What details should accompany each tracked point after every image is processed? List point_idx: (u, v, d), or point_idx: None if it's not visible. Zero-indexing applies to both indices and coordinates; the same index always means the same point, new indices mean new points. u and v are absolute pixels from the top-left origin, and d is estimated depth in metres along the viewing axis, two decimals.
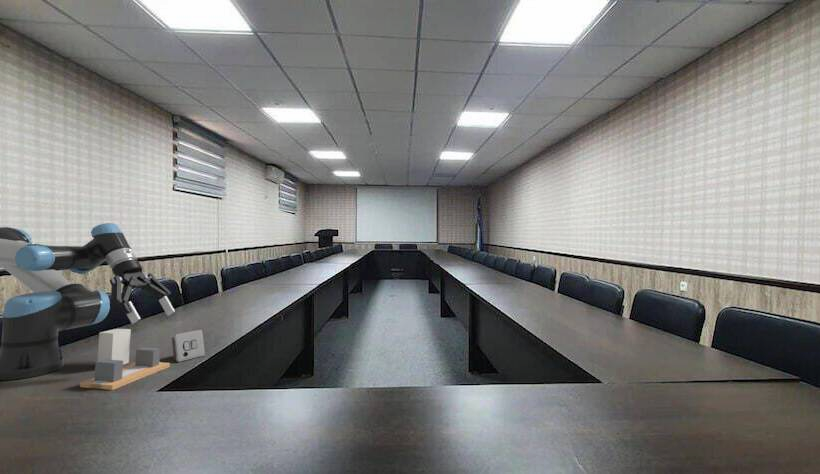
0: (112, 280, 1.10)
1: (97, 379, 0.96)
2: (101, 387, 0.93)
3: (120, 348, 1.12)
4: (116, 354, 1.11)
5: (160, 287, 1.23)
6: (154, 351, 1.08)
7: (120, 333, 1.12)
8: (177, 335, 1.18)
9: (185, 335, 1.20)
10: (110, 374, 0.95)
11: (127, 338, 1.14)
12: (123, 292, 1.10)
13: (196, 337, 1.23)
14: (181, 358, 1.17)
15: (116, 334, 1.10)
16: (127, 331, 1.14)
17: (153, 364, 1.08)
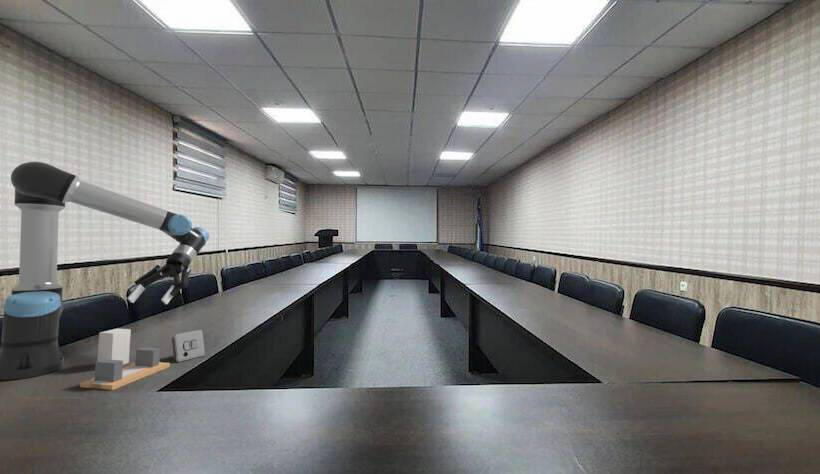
0: (188, 269, 1.34)
1: (97, 379, 0.96)
2: (101, 387, 0.93)
3: (120, 348, 1.12)
4: (116, 354, 1.11)
5: None
6: (154, 351, 1.08)
7: (120, 333, 1.12)
8: (177, 335, 1.18)
9: (185, 335, 1.20)
10: (110, 374, 0.95)
11: (127, 338, 1.14)
12: (178, 278, 1.31)
13: (196, 337, 1.23)
14: (181, 358, 1.17)
15: (116, 334, 1.10)
16: (127, 331, 1.14)
17: (153, 364, 1.08)
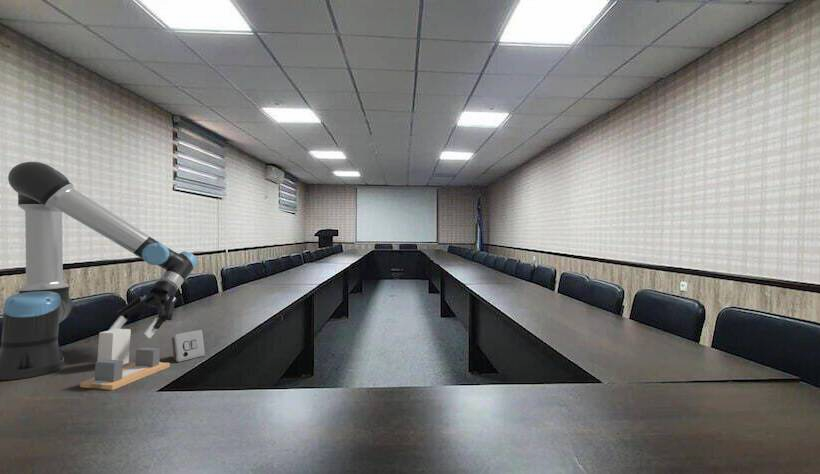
0: (174, 298, 1.26)
1: (97, 379, 0.96)
2: (101, 387, 0.93)
3: (120, 348, 1.12)
4: (116, 354, 1.11)
5: None
6: (154, 351, 1.08)
7: (120, 333, 1.12)
8: (177, 335, 1.18)
9: (185, 335, 1.20)
10: (110, 374, 0.95)
11: (127, 338, 1.14)
12: (162, 309, 1.23)
13: (196, 337, 1.23)
14: (181, 358, 1.17)
15: (116, 334, 1.10)
16: (127, 331, 1.14)
17: (153, 364, 1.08)
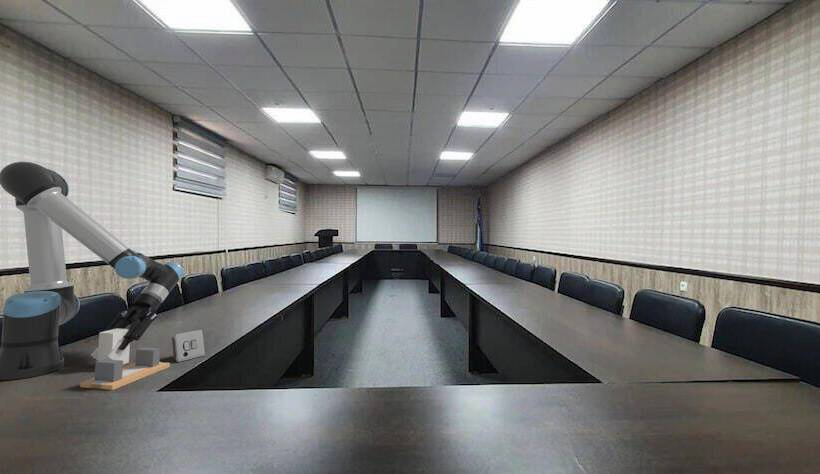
0: (153, 316, 1.19)
1: (97, 379, 0.96)
2: (101, 387, 0.93)
3: None
4: None
5: None
6: (154, 351, 1.08)
7: (120, 333, 1.12)
8: (177, 335, 1.18)
9: (185, 335, 1.20)
10: (110, 374, 0.95)
11: None
12: (136, 327, 1.16)
13: (196, 337, 1.23)
14: (181, 358, 1.17)
15: (116, 334, 1.10)
16: (127, 331, 1.14)
17: (153, 364, 1.08)
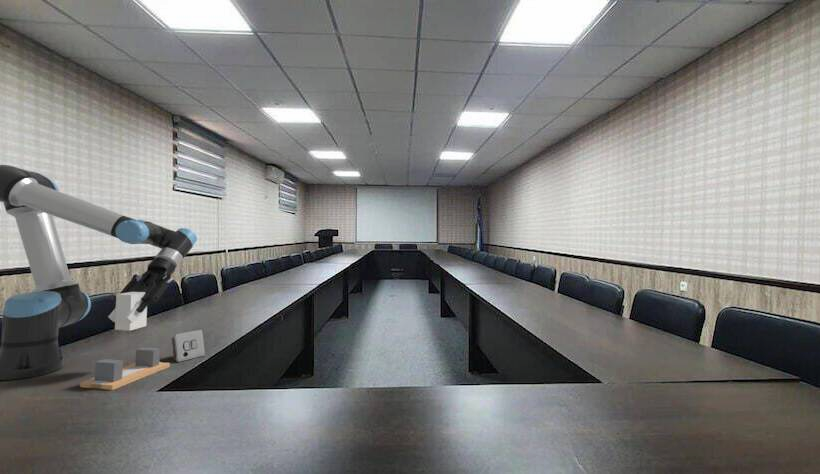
0: (169, 279, 1.16)
1: (97, 379, 0.96)
2: (101, 387, 0.93)
3: None
4: None
5: None
6: (154, 351, 1.08)
7: (138, 295, 1.09)
8: (177, 335, 1.18)
9: (185, 335, 1.20)
10: (110, 374, 0.95)
11: None
12: (152, 290, 1.13)
13: (196, 337, 1.23)
14: (181, 358, 1.17)
15: (134, 296, 1.08)
16: (144, 294, 1.11)
17: (153, 364, 1.08)
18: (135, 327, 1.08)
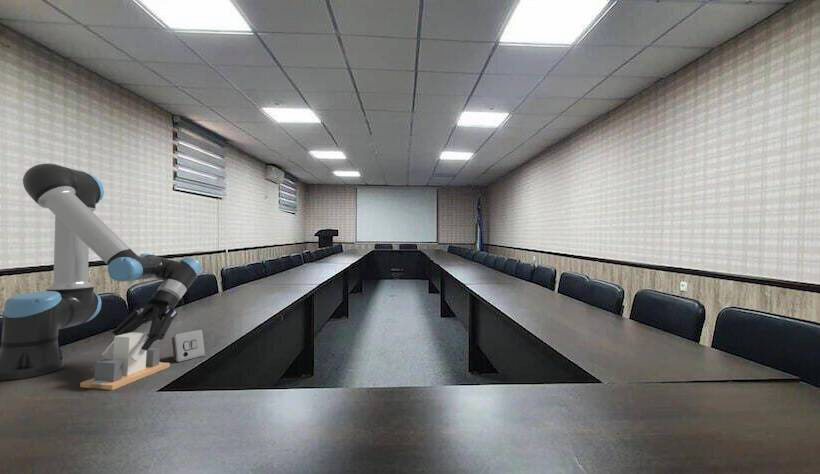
0: (173, 313, 1.11)
1: (97, 379, 0.96)
2: (101, 387, 0.93)
3: None
4: (133, 360, 1.02)
5: None
6: (154, 351, 1.08)
7: (137, 337, 1.03)
8: (177, 335, 1.18)
9: (185, 335, 1.20)
10: (110, 374, 0.95)
11: None
12: (157, 325, 1.07)
13: (196, 337, 1.23)
14: (181, 358, 1.17)
15: (132, 338, 1.01)
16: (144, 335, 1.05)
17: (153, 364, 1.08)
18: (133, 371, 1.02)
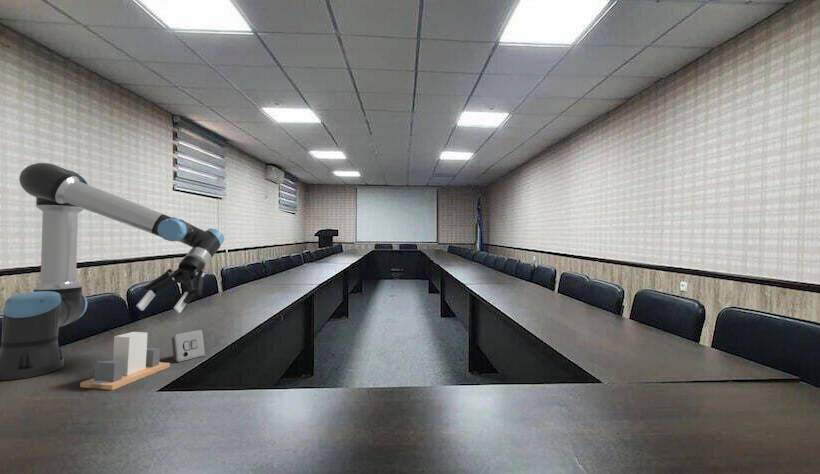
0: (202, 274, 1.23)
1: (97, 379, 0.96)
2: (101, 387, 0.93)
3: (137, 353, 1.03)
4: (133, 360, 1.02)
5: None
6: (154, 351, 1.08)
7: (137, 337, 1.03)
8: (177, 335, 1.18)
9: (185, 335, 1.20)
10: (110, 374, 0.95)
11: (144, 342, 1.05)
12: (191, 284, 1.20)
13: (196, 337, 1.23)
14: (181, 358, 1.17)
15: (132, 338, 1.01)
16: (144, 335, 1.05)
17: (153, 364, 1.08)
18: (133, 371, 1.02)
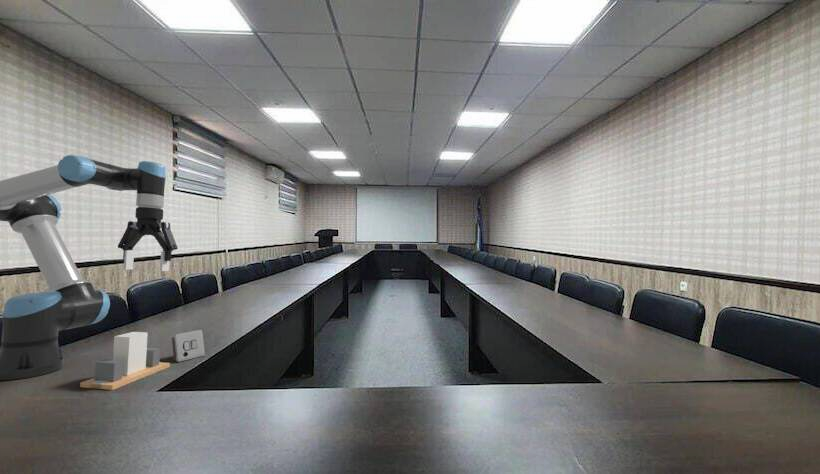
0: (166, 224, 1.16)
1: (97, 379, 0.96)
2: (101, 387, 0.93)
3: (137, 353, 1.03)
4: (133, 360, 1.02)
5: None
6: (154, 351, 1.08)
7: (137, 337, 1.03)
8: (177, 335, 1.18)
9: (185, 335, 1.20)
10: (110, 374, 0.95)
11: (144, 342, 1.05)
12: (162, 238, 1.16)
13: (196, 337, 1.23)
14: (181, 358, 1.17)
15: (132, 338, 1.01)
16: (144, 335, 1.05)
17: (153, 364, 1.08)
18: (133, 371, 1.02)
